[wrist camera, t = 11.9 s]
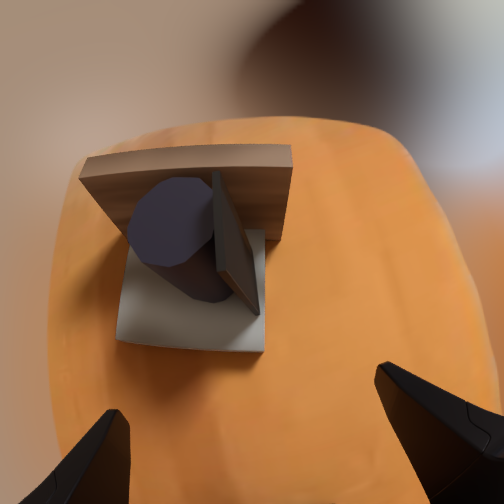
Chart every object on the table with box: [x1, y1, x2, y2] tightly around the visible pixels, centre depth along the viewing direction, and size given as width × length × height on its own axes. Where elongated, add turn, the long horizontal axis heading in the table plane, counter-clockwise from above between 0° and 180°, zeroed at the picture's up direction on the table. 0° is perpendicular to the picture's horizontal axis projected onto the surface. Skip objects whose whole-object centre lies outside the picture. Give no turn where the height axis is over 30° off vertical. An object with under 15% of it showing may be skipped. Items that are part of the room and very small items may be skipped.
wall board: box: [79, 144, 293, 352], centre depth 19 cm, size 12×15×10 cm
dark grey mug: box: [127, 170, 260, 316], centre depth 18 cm, size 8×6×10 cm
